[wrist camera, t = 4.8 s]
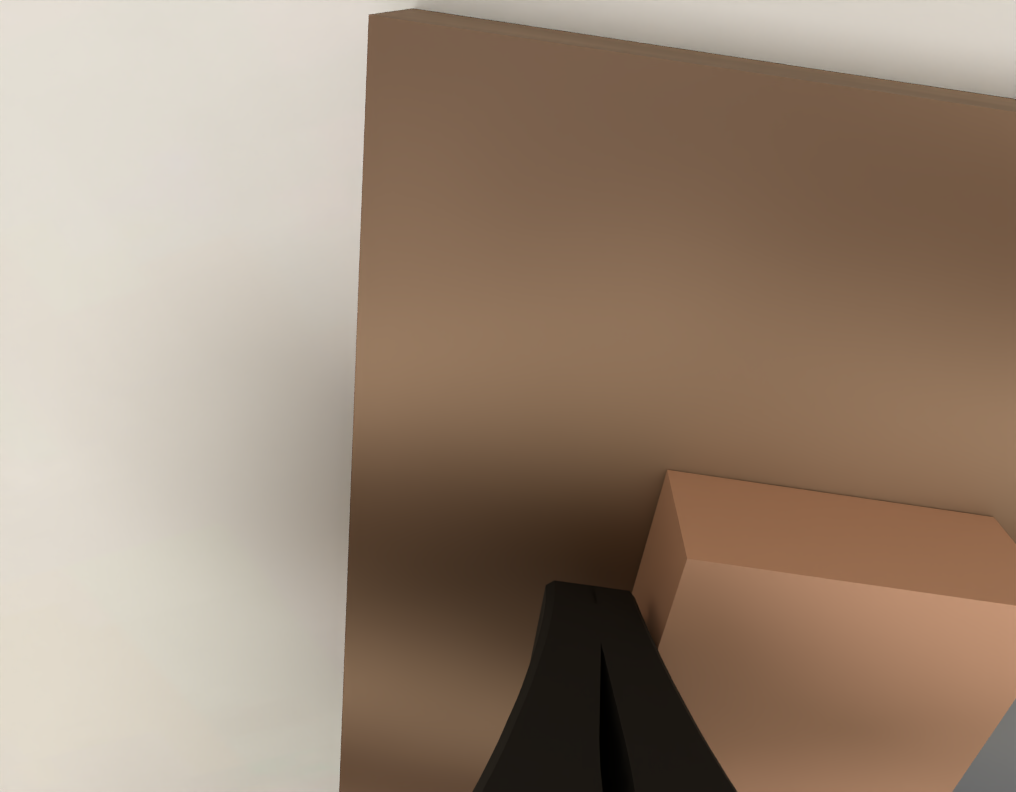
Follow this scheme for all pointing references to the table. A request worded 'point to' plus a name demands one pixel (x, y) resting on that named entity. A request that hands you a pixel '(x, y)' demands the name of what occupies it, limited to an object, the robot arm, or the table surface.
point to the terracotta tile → (831, 633)
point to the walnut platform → (639, 334)
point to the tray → (994, 760)
